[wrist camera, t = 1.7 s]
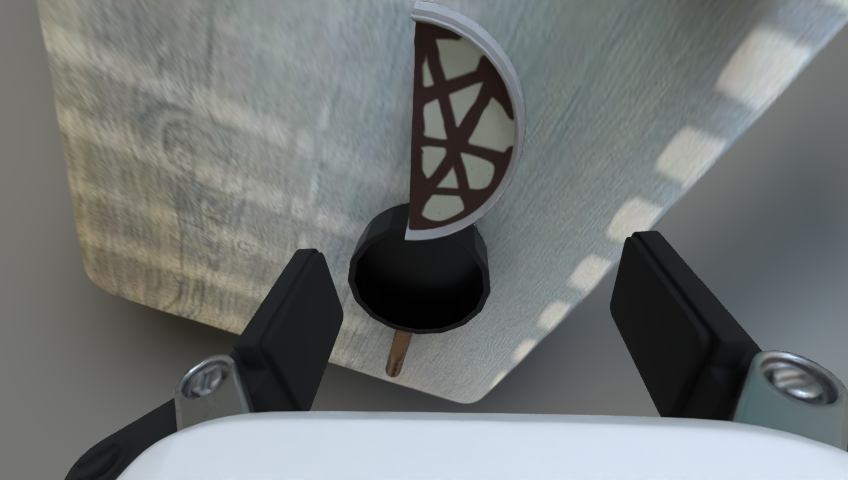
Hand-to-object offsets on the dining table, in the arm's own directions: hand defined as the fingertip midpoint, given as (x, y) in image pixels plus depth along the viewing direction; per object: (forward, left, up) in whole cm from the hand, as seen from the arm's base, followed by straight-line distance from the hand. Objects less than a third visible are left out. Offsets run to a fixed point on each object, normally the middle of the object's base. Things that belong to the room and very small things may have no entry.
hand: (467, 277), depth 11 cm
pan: (+17, -6, -18) cm, 26 cm away
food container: (-1, 0, -19) cm, 19 cm away
